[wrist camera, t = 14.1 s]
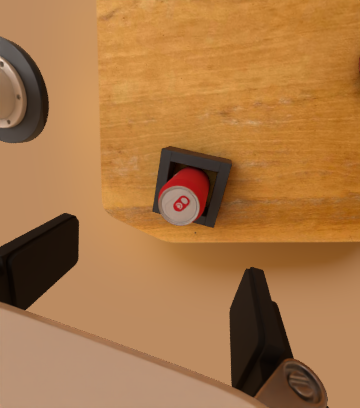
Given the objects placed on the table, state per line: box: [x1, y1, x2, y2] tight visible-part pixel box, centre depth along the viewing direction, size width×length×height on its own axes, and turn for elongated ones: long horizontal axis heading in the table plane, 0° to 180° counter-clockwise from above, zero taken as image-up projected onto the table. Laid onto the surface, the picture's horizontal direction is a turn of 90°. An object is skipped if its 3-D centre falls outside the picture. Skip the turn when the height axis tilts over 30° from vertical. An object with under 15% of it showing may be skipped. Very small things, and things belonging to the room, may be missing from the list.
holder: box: [152, 146, 232, 228], centre depth 34 cm, size 11×11×4 cm
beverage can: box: [158, 166, 210, 226], centre depth 31 cm, size 6×6×12 cm
